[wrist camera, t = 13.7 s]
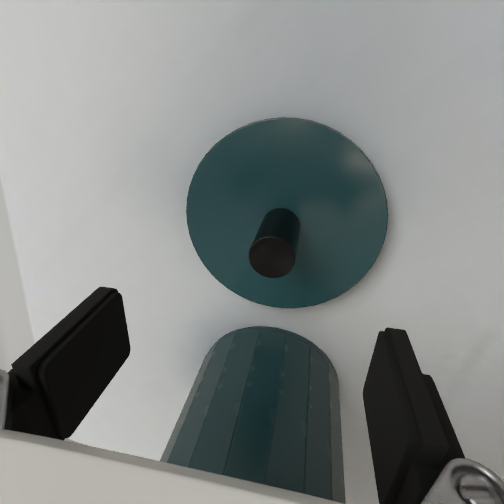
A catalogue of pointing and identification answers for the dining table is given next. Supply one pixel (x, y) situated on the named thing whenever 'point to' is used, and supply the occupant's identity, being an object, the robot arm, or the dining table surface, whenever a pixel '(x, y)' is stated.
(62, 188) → the dining table surface
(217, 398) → the teal faceted cylinder
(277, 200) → the pot lid
